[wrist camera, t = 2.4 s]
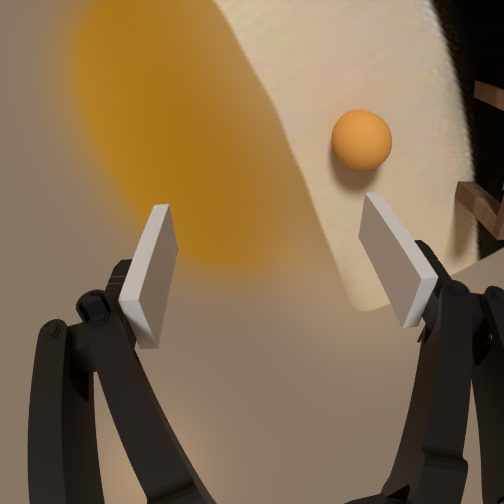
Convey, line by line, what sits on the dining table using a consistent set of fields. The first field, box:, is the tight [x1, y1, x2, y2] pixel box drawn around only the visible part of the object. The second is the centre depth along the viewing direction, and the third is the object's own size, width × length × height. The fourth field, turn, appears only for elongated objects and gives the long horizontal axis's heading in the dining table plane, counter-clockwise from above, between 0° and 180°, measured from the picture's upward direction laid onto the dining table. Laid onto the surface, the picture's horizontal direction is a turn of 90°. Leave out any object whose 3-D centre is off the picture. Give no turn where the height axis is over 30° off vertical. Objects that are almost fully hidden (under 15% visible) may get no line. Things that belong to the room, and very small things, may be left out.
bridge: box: [455, 80, 504, 240], centre depth 25 cm, size 3×14×9 cm, turn 3°
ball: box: [332, 110, 392, 170], centre depth 27 cm, size 6×6×6 cm
